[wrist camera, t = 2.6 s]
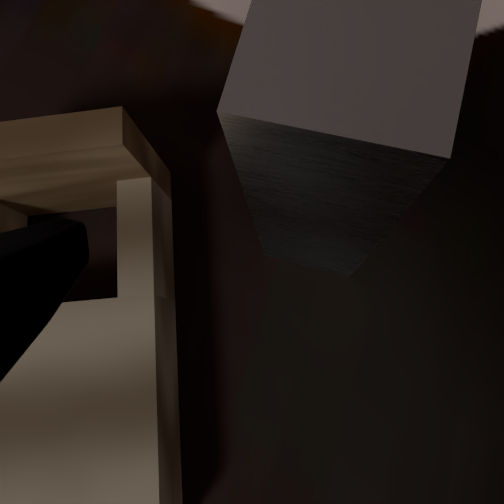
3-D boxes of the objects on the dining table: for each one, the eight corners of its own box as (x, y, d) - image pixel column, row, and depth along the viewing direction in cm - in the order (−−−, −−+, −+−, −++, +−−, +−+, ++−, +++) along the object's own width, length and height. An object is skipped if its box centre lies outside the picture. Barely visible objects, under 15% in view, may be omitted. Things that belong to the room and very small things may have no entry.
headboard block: (183, 528, 17) (126, 623, 11) (-19, 537, 18) (-169, 630, 12) (170, 172, 21) (121, 106, 15) (1, 191, 22) (-107, 135, 16)
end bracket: (349, 276, 19) (450, 158, 7) (265, 255, 19) (216, 110, 7) (373, 176, 20) (499, -89, 8) (291, 158, 20) (287, -113, 8)
